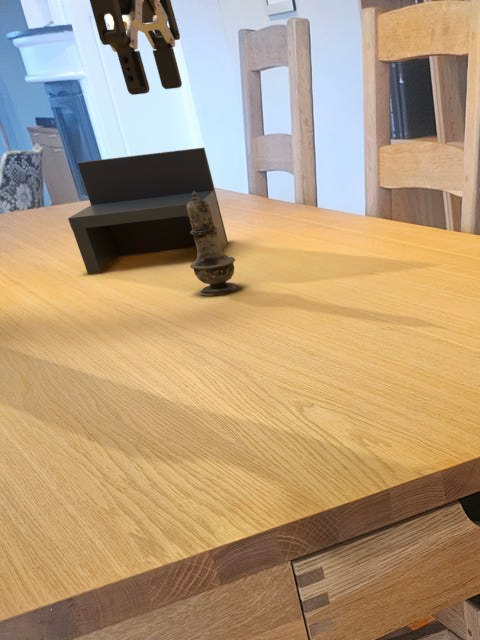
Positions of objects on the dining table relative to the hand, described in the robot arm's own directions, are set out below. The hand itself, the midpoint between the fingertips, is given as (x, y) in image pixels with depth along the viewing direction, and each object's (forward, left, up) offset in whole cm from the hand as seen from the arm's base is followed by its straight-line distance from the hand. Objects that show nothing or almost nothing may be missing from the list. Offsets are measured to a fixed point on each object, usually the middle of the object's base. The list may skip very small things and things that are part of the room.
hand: (156, 91), depth 93 cm
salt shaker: (0, +7, -23) cm, 24 cm away
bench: (-14, +37, -23) cm, 45 cm away
